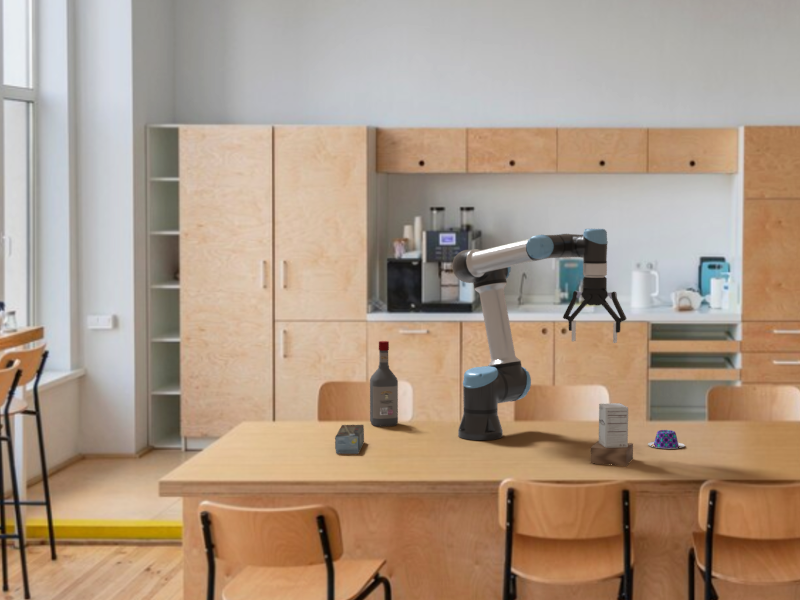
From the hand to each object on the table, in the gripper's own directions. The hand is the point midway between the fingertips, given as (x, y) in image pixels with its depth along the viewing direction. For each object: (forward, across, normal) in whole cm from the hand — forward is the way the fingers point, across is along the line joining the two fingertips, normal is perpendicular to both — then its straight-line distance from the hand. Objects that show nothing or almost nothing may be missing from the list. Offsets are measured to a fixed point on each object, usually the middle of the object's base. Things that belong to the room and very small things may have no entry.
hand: (594, 341), depth 399 cm
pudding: (+35, -22, -11) cm, 43 cm away
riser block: (+35, -10, +19) cm, 41 cm away
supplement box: (+30, -10, +19) cm, 37 cm away
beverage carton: (+35, +74, +28) cm, 87 cm away
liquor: (+35, +79, -15) cm, 88 cm away
